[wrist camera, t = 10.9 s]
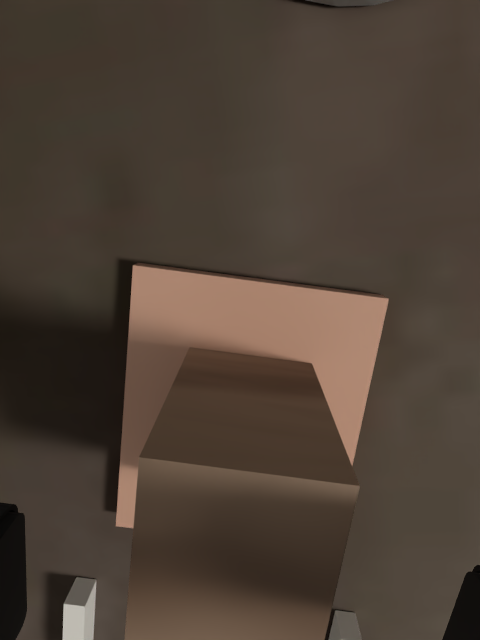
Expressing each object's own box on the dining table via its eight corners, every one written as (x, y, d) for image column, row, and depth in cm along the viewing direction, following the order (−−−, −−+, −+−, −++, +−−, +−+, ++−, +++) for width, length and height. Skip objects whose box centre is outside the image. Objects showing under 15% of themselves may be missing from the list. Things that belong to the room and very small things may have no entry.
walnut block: (189, 347, 17) (138, 457, 10) (312, 363, 17) (360, 485, 10) (176, 476, 19) (122, 661, 11) (288, 490, 19) (313, 685, 11)
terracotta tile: (138, 262, 17) (132, 265, 17) (382, 294, 17) (388, 298, 17) (121, 514, 20) (116, 525, 20) (329, 540, 20) (332, 554, 20)
